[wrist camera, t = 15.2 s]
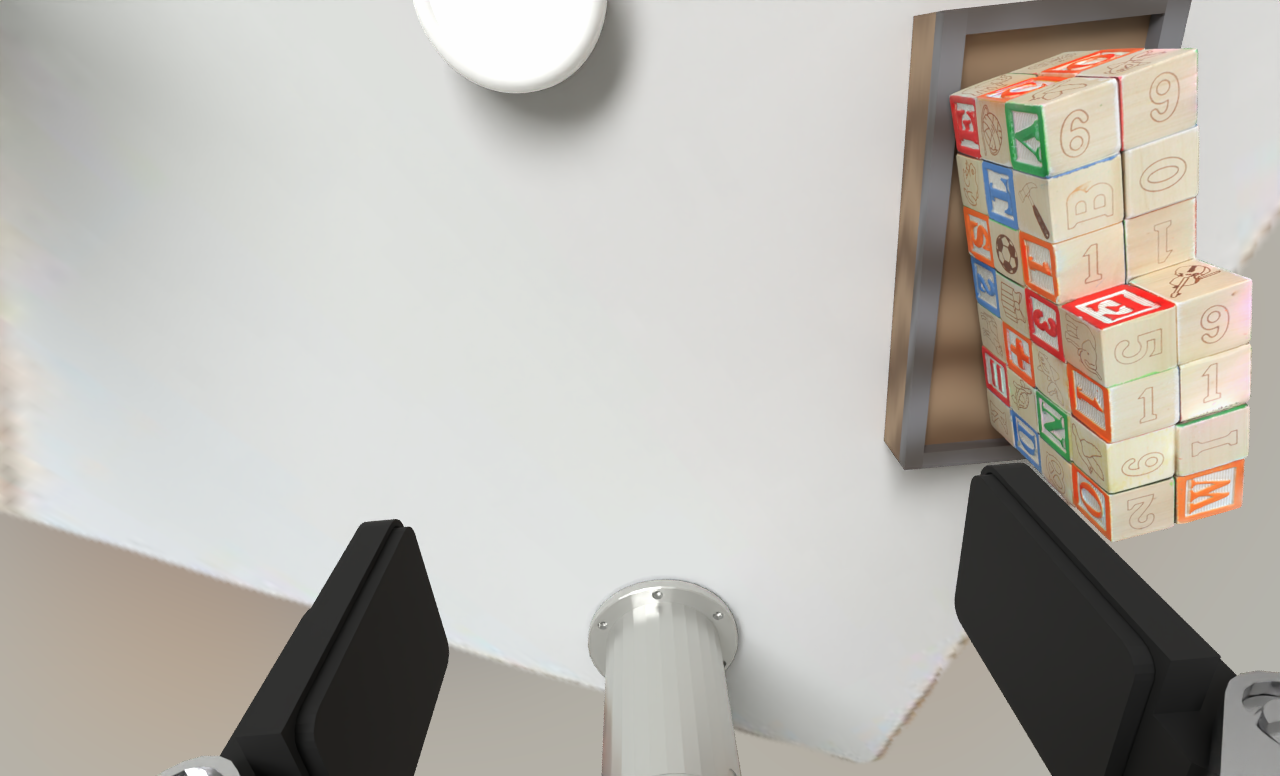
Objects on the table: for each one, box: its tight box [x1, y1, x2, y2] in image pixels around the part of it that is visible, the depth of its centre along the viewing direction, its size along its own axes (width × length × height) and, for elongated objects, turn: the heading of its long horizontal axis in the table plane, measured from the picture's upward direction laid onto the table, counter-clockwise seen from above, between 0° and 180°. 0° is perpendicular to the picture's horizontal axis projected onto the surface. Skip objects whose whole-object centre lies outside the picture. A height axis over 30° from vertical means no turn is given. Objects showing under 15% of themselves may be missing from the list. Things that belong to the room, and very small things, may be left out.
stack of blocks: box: [949, 48, 1252, 542], centre depth 34 cm, size 21×6×12 cm, turn 20°
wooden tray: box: [884, 0, 1192, 470], centre depth 41 cm, size 27×12×4 cm, turn 6°
